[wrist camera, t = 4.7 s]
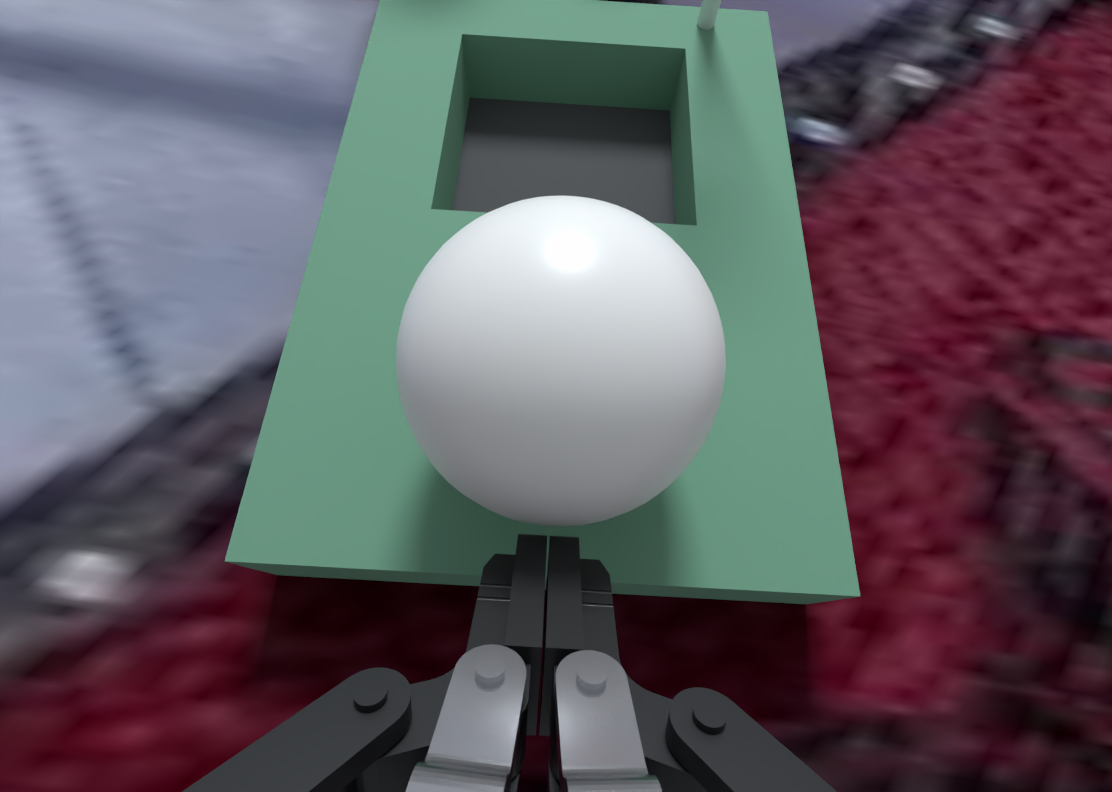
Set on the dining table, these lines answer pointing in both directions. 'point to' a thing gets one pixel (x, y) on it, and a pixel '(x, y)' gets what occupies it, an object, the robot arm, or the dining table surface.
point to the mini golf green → (535, 171)
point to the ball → (560, 360)
